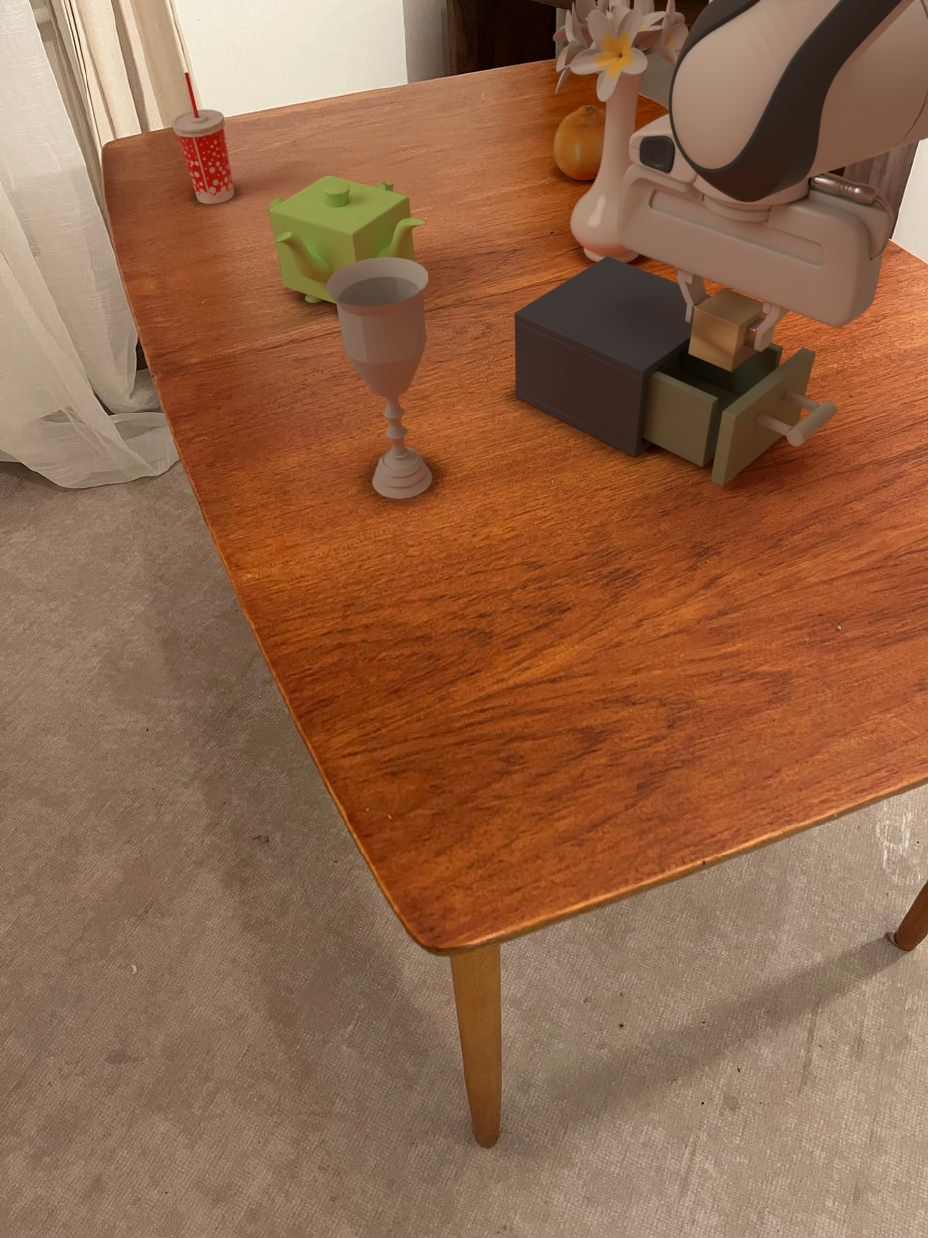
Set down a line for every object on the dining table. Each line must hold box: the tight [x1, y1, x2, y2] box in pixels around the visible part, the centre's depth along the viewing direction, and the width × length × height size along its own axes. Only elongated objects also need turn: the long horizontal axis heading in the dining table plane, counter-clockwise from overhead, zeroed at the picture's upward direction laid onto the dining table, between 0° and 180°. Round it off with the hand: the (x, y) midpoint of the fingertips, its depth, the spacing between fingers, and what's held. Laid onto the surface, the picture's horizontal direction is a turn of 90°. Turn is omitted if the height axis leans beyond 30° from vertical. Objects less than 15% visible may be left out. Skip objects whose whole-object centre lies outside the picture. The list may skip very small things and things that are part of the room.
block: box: [689, 287, 767, 372], centre depth 76 cm, size 4×4×4 cm
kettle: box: [266, 174, 425, 305], centre depth 100 cm, size 15×14×11 cm
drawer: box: [642, 342, 838, 488], centre depth 81 cm, size 17×11×7 cm
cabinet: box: [514, 256, 713, 458], centre depth 86 cm, size 14×13×9 cm
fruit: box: [552, 104, 606, 181], centre depth 118 cm, size 8×8×8 cm
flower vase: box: [552, 0, 690, 264], centre depth 98 cm, size 13×18×25 cm
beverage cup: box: [171, 71, 235, 205], centre depth 116 cm, size 6×6×14 cm
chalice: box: [327, 257, 433, 500], centre depth 76 cm, size 7×7×18 cm
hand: (726, 333), depth 77 cm, fingers closed on block, 4 cm apart
